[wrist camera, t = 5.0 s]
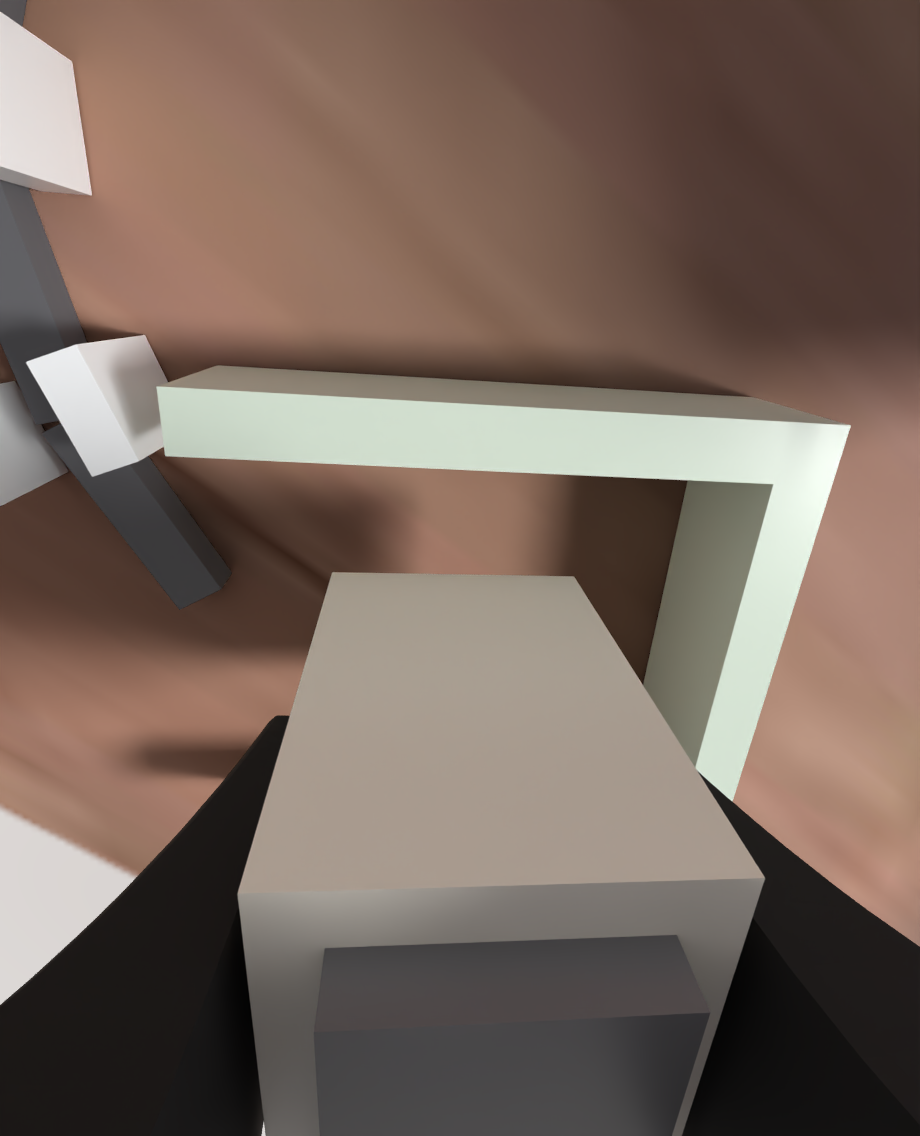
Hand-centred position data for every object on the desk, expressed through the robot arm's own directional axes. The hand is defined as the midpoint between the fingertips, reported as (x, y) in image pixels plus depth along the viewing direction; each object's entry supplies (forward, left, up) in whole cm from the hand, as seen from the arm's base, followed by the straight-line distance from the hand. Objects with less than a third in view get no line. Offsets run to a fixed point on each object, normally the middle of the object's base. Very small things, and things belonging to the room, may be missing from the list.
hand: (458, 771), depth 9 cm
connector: (0, 0, -2) cm, 2 cm away
